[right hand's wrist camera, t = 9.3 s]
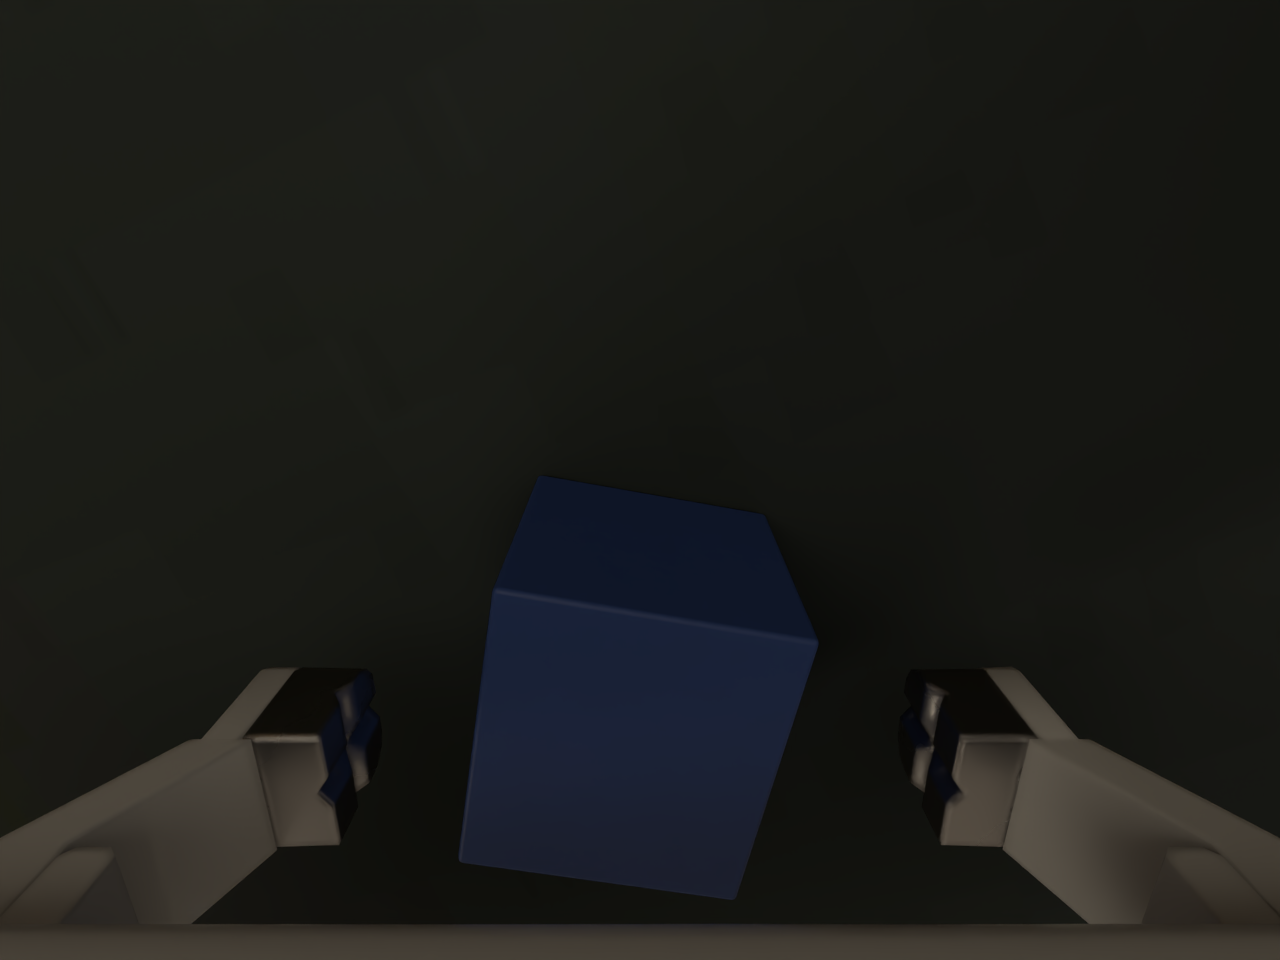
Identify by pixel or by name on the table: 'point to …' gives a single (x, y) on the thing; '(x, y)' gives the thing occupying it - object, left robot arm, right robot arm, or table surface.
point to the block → (634, 691)
